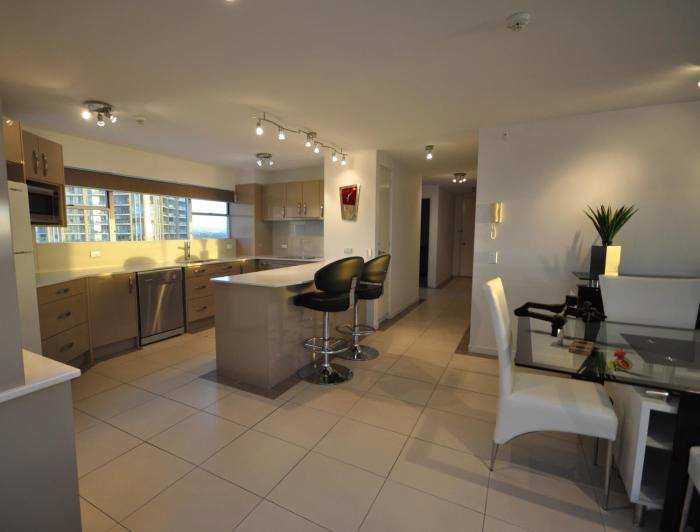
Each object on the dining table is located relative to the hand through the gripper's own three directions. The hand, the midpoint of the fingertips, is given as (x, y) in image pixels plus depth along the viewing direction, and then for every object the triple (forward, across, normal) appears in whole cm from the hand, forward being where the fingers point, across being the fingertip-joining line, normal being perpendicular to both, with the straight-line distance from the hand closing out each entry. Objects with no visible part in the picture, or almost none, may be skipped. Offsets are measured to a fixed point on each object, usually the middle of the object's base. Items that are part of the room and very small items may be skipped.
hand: (605, 319), depth 204 cm
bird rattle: (+14, -39, +15) cm, 44 cm away
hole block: (-6, -19, +17) cm, 26 cm away
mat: (-17, -20, +18) cm, 32 cm away
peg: (-17, -20, +18) cm, 31 cm away
